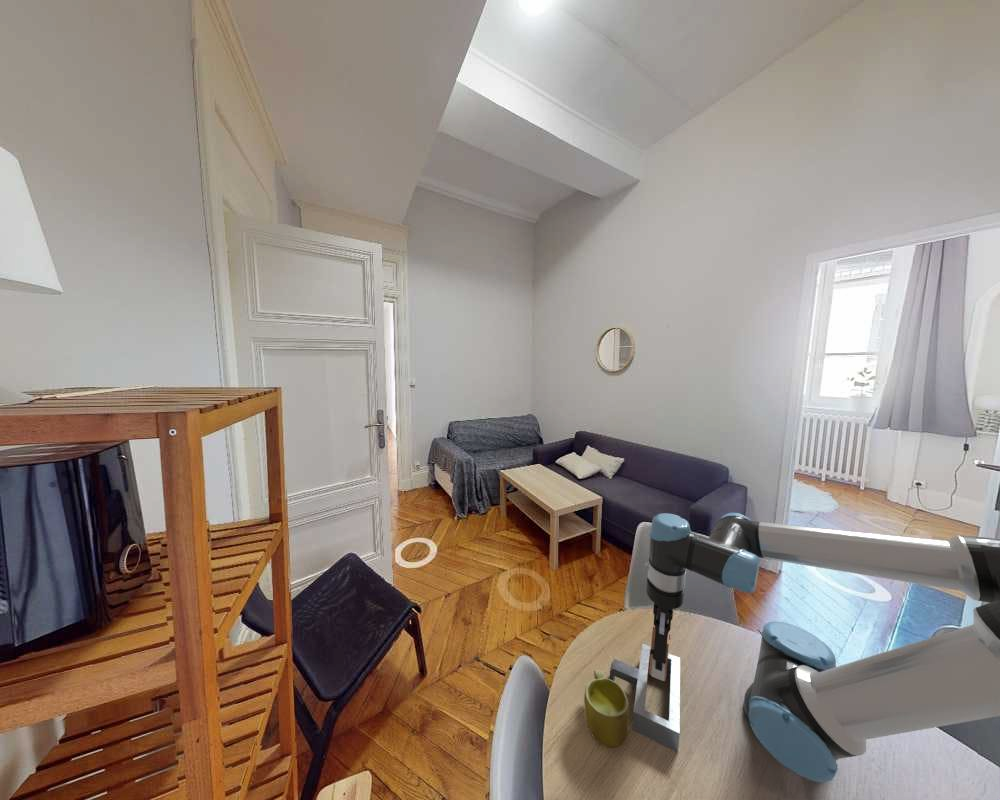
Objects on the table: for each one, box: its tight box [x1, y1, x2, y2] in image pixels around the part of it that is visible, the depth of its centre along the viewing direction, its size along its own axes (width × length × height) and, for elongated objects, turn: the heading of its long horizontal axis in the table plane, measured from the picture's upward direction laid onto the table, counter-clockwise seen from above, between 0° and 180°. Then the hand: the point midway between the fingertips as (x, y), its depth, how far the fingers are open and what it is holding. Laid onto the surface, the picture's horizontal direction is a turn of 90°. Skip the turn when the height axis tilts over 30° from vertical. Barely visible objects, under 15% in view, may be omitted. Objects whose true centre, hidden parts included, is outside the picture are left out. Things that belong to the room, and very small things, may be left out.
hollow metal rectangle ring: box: [609, 643, 681, 753], centre depth 81 cm, size 16×19×5 cm
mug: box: [583, 669, 630, 749], centre depth 75 cm, size 12×10×10 cm
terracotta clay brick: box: [648, 626, 670, 682], centre depth 78 cm, size 4×4×10 cm
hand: (658, 669), depth 79 cm, fingers closed on terracotta clay brick, 3 cm apart
